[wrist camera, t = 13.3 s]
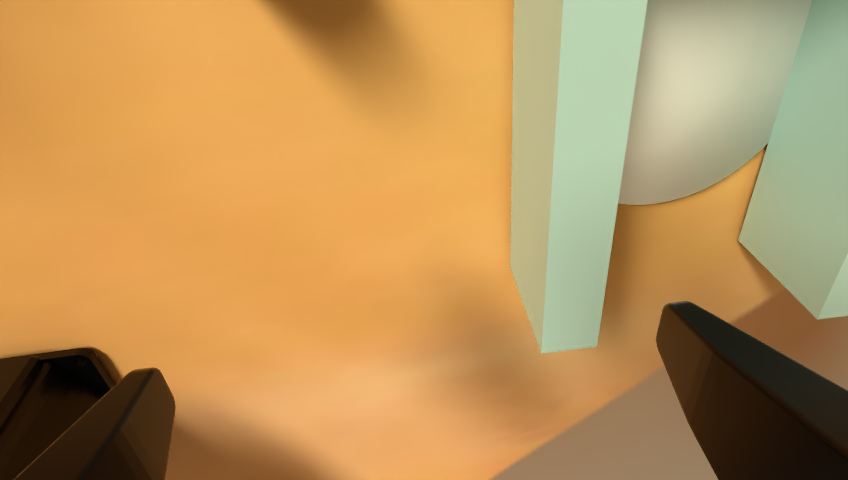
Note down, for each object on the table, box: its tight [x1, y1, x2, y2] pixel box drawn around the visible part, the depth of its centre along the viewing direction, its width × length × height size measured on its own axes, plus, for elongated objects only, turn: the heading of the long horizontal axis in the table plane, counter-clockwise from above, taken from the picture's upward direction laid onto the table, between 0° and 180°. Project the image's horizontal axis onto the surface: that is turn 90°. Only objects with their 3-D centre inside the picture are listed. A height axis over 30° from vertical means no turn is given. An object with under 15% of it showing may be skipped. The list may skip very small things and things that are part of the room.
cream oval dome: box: [618, 0, 813, 205], centre depth 19 cm, size 10×10×1 cm
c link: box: [510, 0, 848, 353], centre depth 17 cm, size 15×12×5 cm
